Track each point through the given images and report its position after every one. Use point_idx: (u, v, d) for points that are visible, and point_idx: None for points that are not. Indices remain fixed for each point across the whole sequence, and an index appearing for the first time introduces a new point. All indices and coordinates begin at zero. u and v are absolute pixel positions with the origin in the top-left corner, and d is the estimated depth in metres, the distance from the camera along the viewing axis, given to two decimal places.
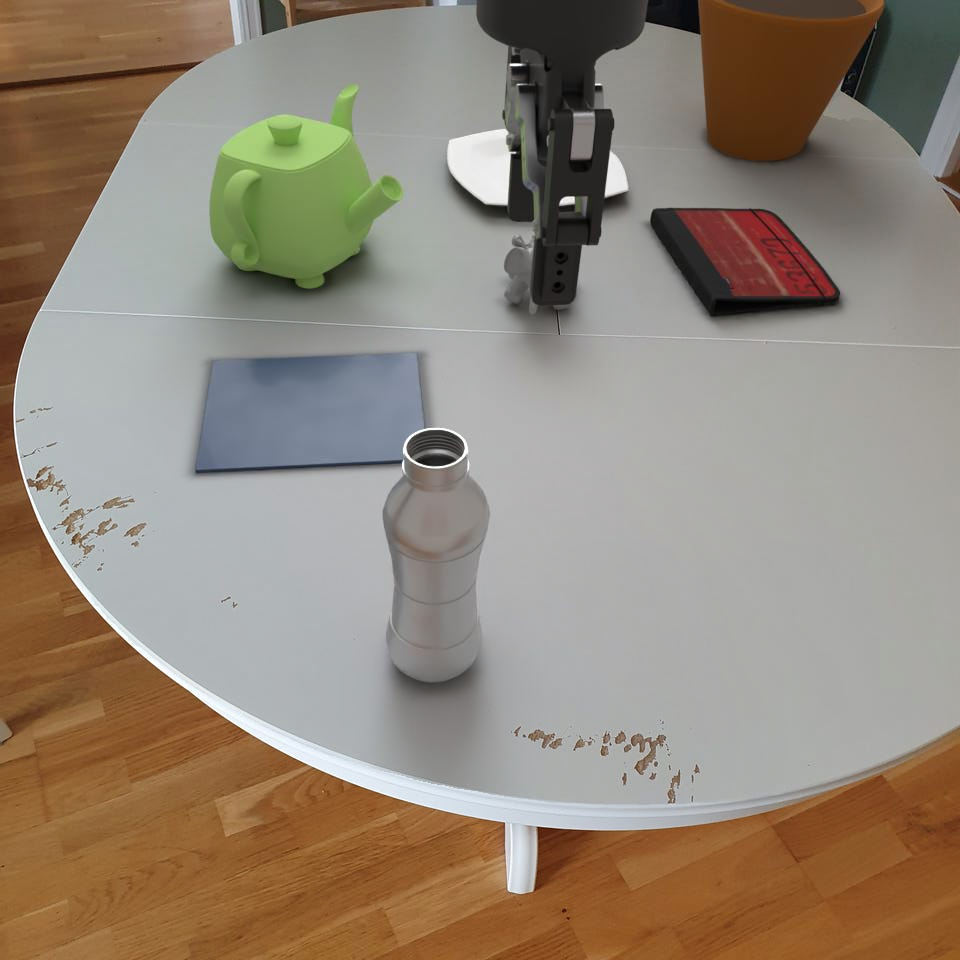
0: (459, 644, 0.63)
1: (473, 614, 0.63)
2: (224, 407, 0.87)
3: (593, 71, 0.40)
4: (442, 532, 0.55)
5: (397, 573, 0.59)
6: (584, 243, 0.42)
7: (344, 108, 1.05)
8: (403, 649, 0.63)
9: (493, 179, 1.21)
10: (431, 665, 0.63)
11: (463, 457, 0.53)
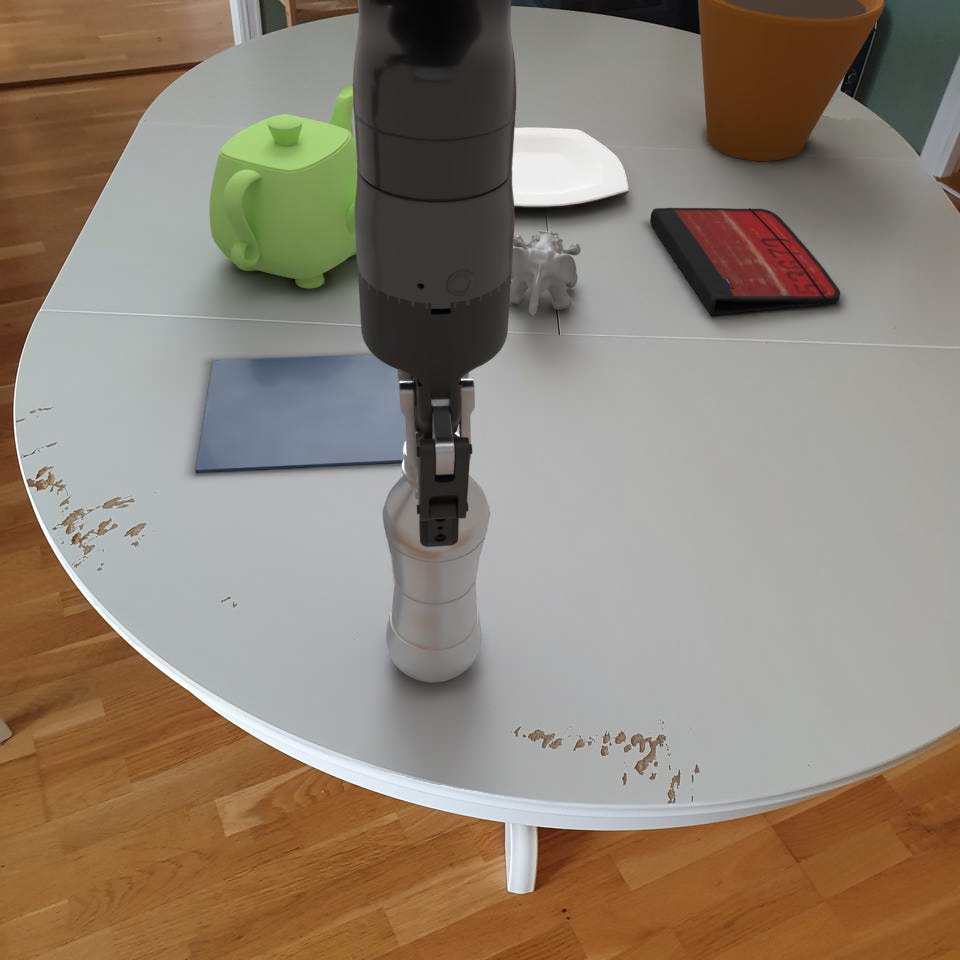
0: (459, 644, 0.63)
1: (473, 614, 0.63)
2: (224, 407, 0.87)
3: (459, 385, 0.47)
4: None
5: (397, 573, 0.59)
6: (453, 518, 0.50)
7: (344, 108, 1.05)
8: (403, 649, 0.63)
9: None
10: (431, 665, 0.63)
11: None
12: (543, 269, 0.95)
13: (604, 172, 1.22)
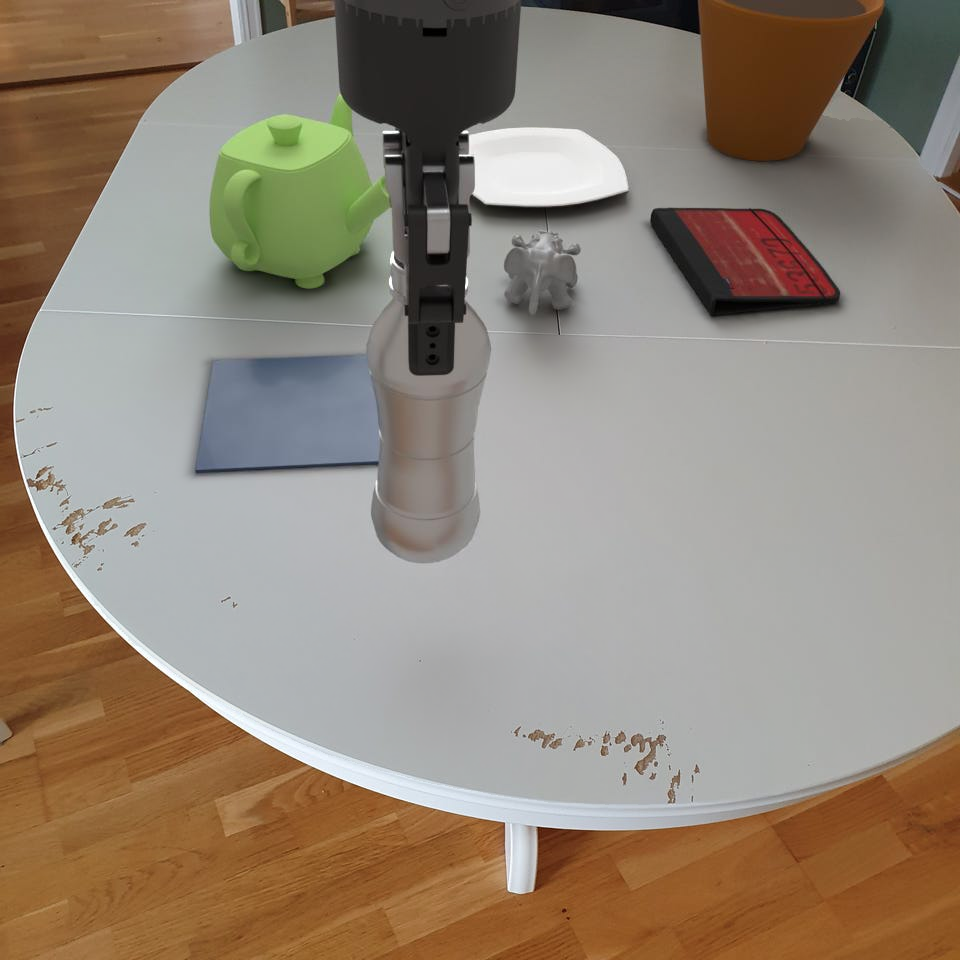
0: (454, 514, 0.55)
1: (470, 480, 0.55)
2: (224, 407, 0.87)
3: (456, 146, 0.39)
4: None
5: (383, 422, 0.51)
6: (448, 322, 0.41)
7: (344, 108, 1.05)
8: (390, 520, 0.55)
9: (493, 179, 1.21)
10: (422, 539, 0.55)
11: None
12: (543, 269, 0.95)
13: (604, 172, 1.22)
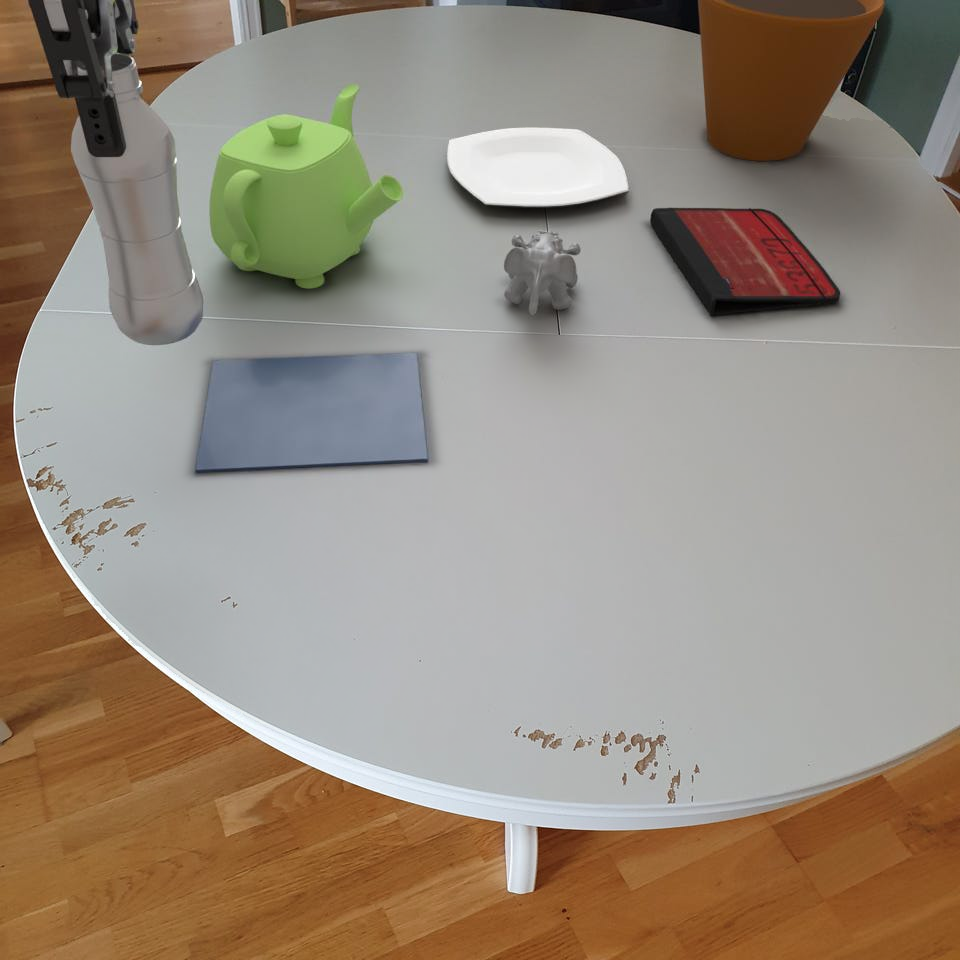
0: (168, 297, 0.67)
1: (181, 269, 0.67)
2: (224, 407, 0.87)
3: None
4: None
5: (94, 210, 0.64)
6: (91, 96, 0.54)
7: (344, 108, 1.05)
8: (116, 302, 0.67)
9: (493, 179, 1.21)
10: (143, 318, 0.68)
11: (127, 69, 0.58)
12: (543, 269, 0.95)
13: (604, 172, 1.22)
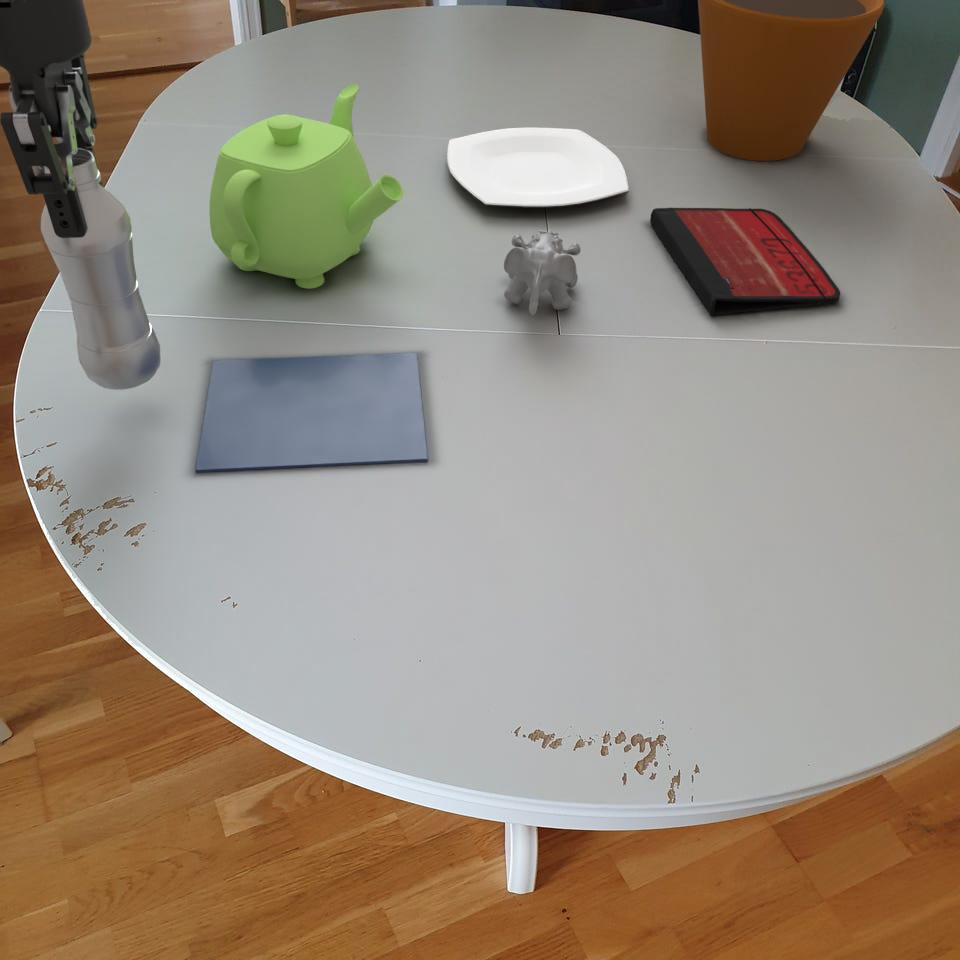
0: (128, 349, 0.78)
1: (139, 325, 0.78)
2: (224, 407, 0.87)
3: (40, 77, 0.62)
4: None
5: (62, 278, 0.74)
6: (55, 193, 0.65)
7: (344, 108, 1.05)
8: (84, 354, 0.78)
9: (493, 179, 1.21)
10: (107, 367, 0.78)
11: (86, 164, 0.69)
12: (543, 269, 0.95)
13: (604, 172, 1.22)
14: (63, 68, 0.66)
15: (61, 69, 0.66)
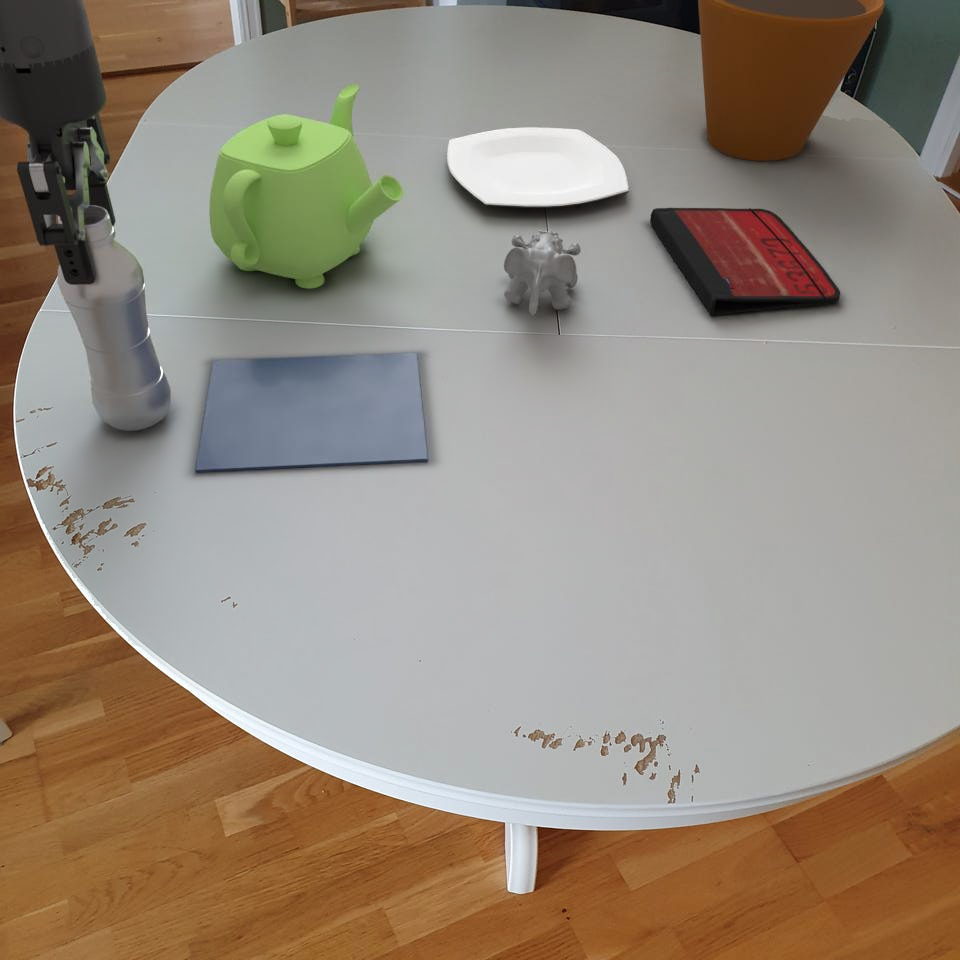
0: (140, 393, 0.81)
1: (150, 370, 0.81)
2: (224, 407, 0.87)
3: (58, 136, 0.65)
4: None
5: None
6: (65, 243, 0.66)
7: (344, 108, 1.05)
8: (97, 398, 0.81)
9: (493, 179, 1.21)
10: (120, 410, 0.81)
11: (101, 221, 0.72)
12: (543, 269, 0.95)
13: (604, 172, 1.22)
14: (78, 124, 0.69)
15: (77, 125, 0.68)
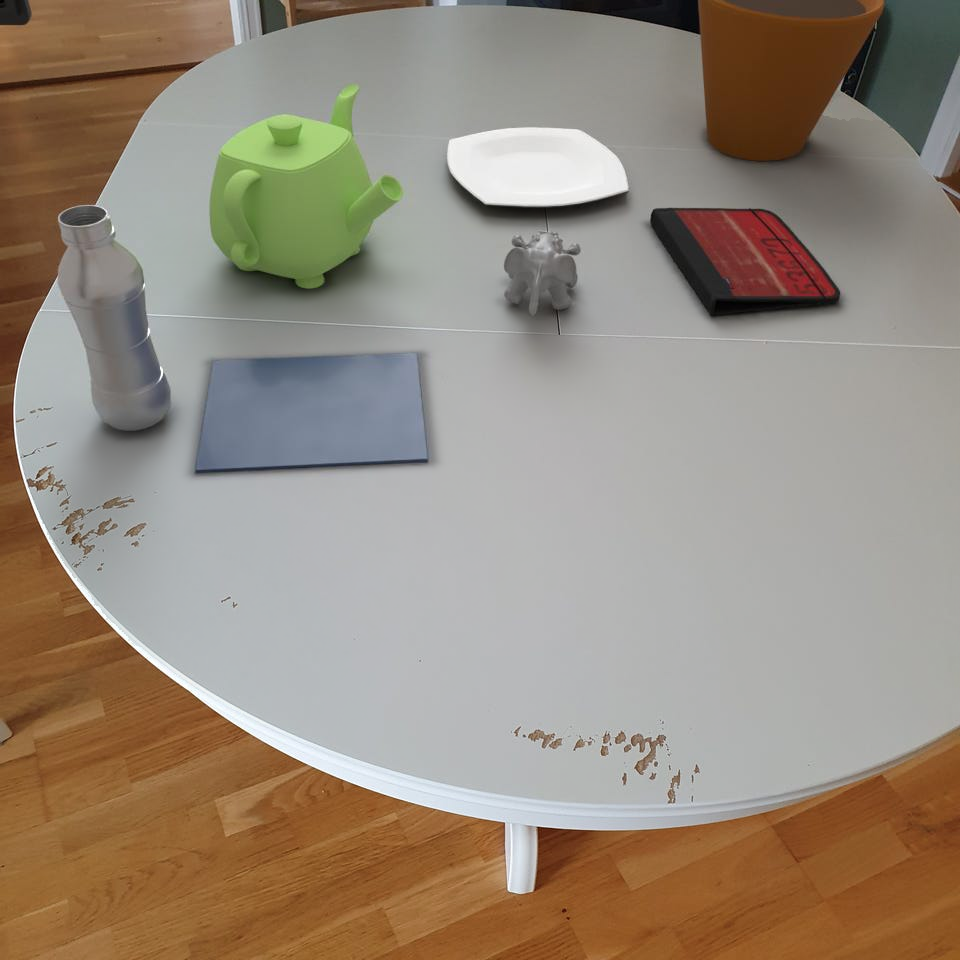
0: (140, 393, 0.81)
1: (150, 370, 0.81)
2: (224, 407, 0.87)
3: None
4: (92, 282, 0.73)
5: None
6: None
7: (344, 108, 1.05)
8: (97, 398, 0.81)
9: (493, 179, 1.21)
10: (120, 410, 0.81)
11: (101, 221, 0.72)
12: (543, 269, 0.95)
13: (604, 172, 1.22)
14: None
15: None
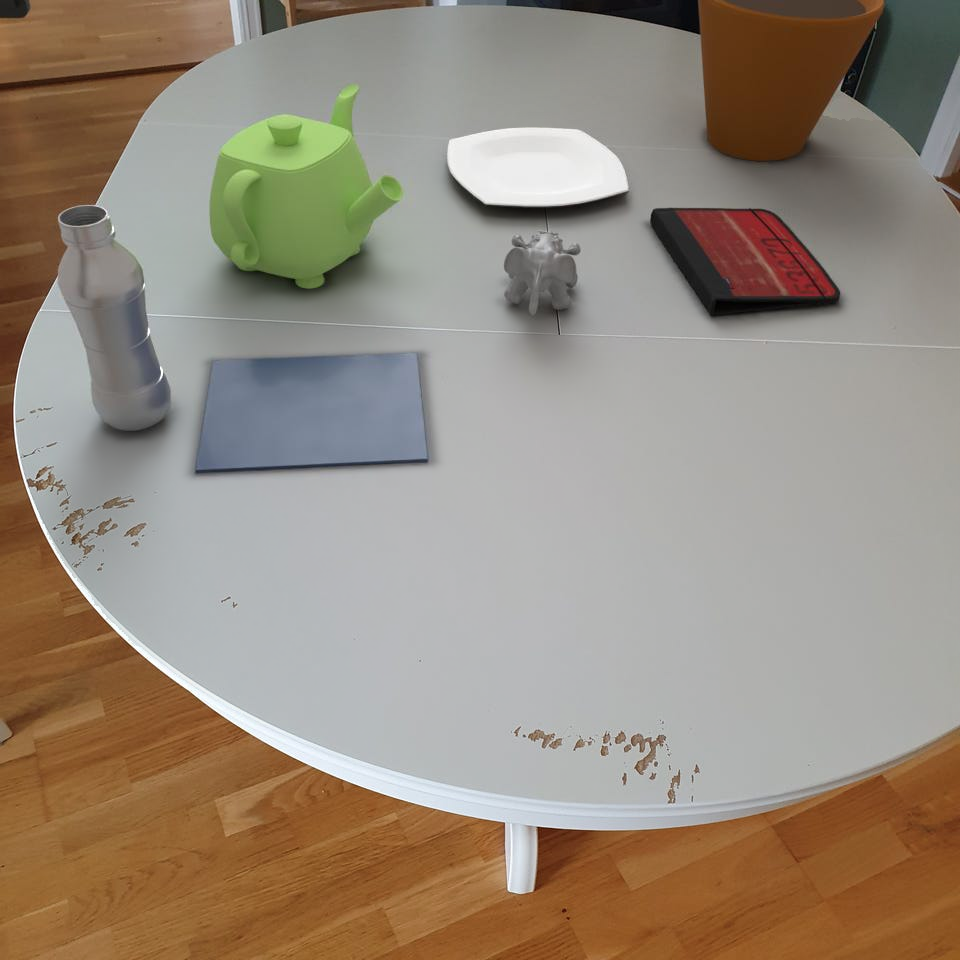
0: (140, 393, 0.81)
1: (150, 370, 0.81)
2: (224, 407, 0.87)
3: None
4: (92, 282, 0.73)
5: None
6: None
7: (344, 108, 1.05)
8: (97, 398, 0.81)
9: (493, 179, 1.21)
10: (120, 410, 0.81)
11: (101, 221, 0.72)
12: (543, 269, 0.95)
13: (604, 172, 1.22)
14: None
15: None
